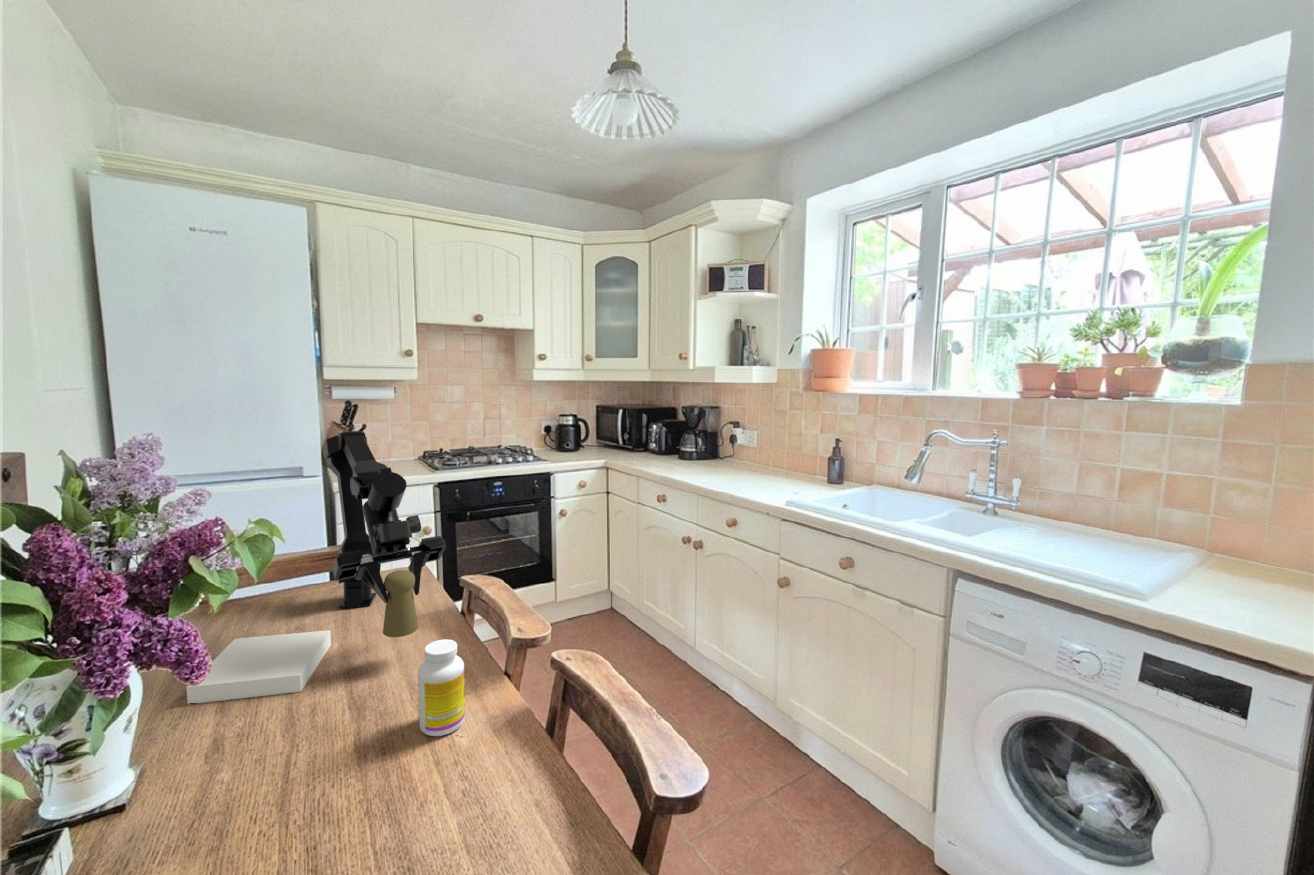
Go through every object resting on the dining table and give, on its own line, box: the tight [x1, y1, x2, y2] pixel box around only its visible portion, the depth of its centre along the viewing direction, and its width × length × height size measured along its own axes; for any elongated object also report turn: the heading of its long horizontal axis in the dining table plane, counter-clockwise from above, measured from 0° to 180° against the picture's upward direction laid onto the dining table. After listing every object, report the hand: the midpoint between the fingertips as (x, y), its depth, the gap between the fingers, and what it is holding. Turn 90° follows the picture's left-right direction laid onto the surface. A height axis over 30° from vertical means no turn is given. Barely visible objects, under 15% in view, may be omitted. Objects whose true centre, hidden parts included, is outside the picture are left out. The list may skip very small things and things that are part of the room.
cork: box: [382, 569, 419, 638], centre depth 98 cm, size 6×6×11 cm
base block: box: [185, 629, 332, 704], centre depth 95 cm, size 16×16×3 cm
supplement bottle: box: [417, 638, 466, 737], centre depth 82 cm, size 7×7×13 cm
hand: (402, 598), depth 97 cm, fingers closed on cork, 5 cm apart
